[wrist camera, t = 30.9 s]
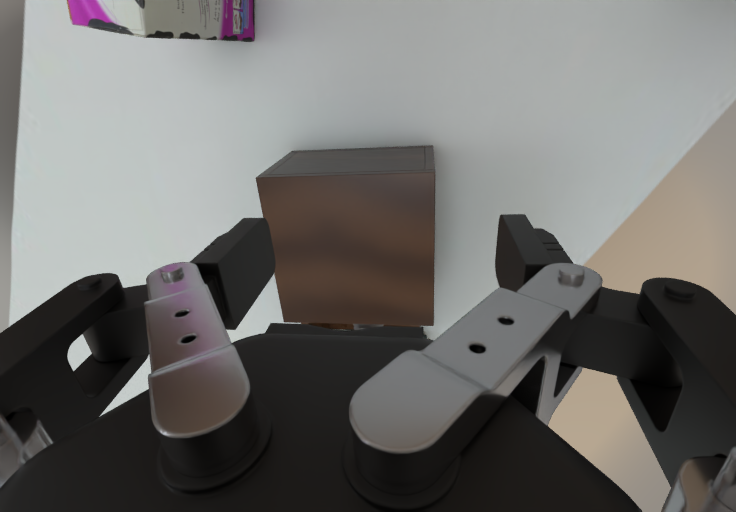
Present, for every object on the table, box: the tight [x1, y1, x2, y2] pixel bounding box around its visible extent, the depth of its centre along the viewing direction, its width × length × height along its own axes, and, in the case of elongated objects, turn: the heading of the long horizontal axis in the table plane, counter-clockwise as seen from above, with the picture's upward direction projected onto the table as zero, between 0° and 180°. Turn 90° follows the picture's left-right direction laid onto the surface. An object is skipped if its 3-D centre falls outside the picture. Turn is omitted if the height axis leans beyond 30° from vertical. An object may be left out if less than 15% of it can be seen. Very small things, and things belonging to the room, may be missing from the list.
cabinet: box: [256, 146, 435, 326], centre depth 39 cm, size 15×15×10 cm
